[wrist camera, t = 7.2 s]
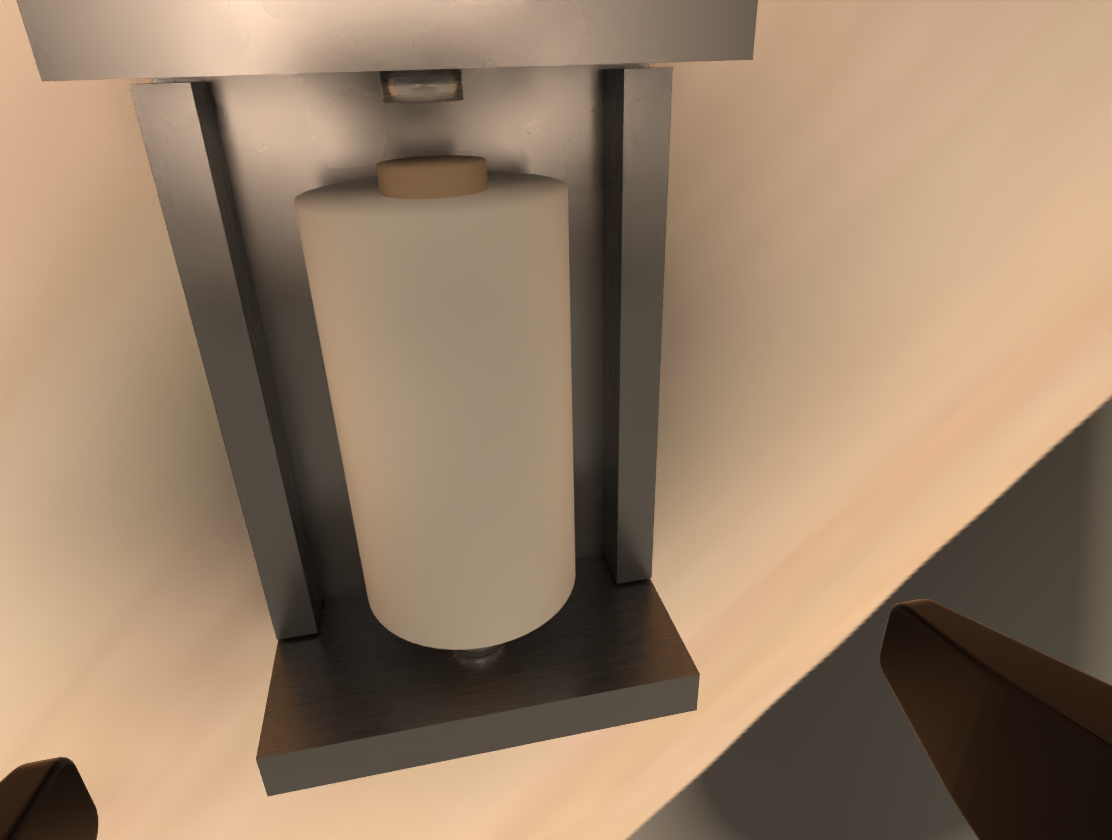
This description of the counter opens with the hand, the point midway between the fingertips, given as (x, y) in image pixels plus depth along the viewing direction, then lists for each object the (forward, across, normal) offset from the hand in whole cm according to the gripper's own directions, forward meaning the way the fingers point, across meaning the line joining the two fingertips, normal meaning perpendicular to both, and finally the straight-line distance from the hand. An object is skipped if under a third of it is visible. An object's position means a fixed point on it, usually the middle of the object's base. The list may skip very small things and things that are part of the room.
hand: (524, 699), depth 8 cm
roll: (+11, 0, 0) cm, 11 cm away
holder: (+12, 0, 0) cm, 12 cm away
